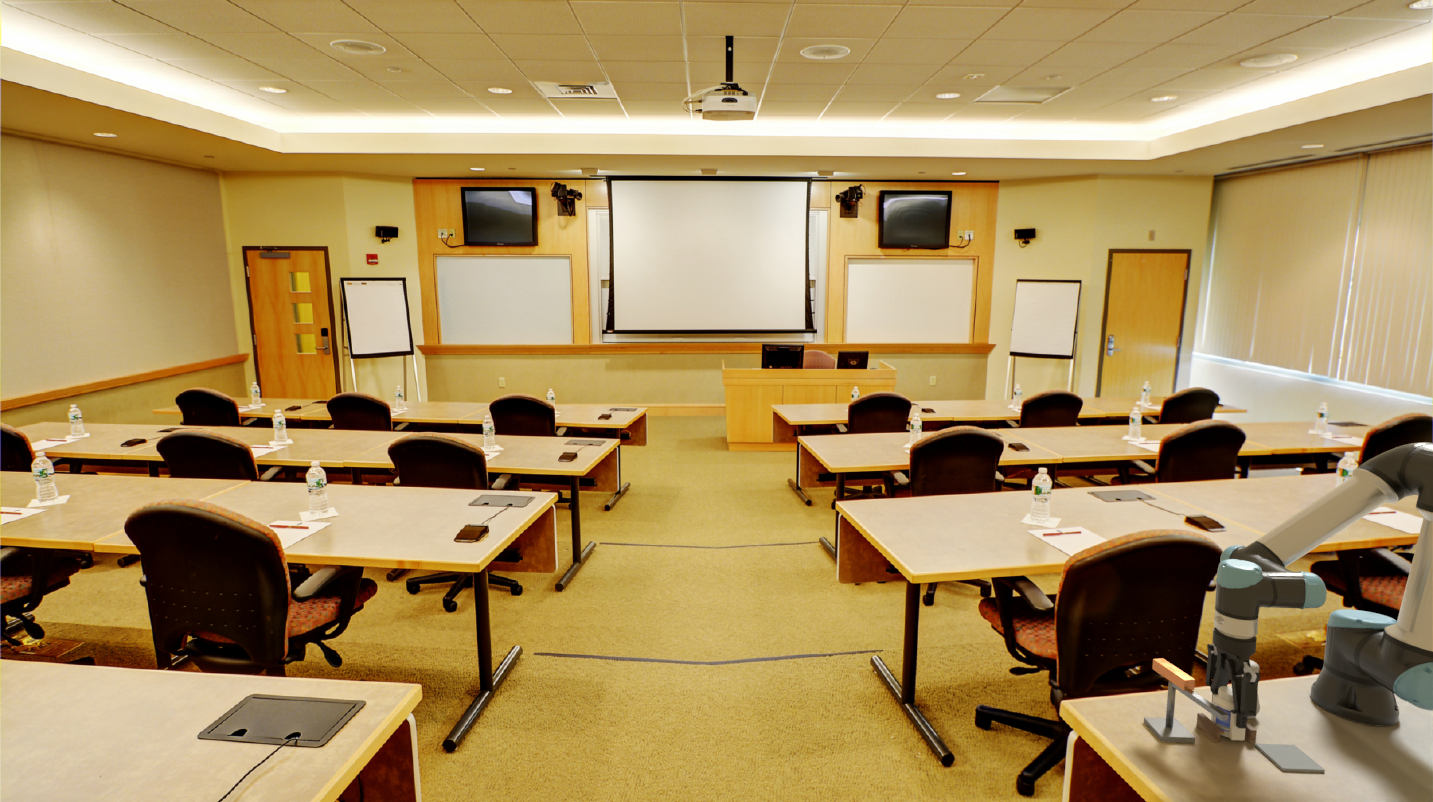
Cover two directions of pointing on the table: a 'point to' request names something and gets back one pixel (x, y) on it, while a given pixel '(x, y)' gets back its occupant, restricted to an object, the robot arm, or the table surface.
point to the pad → (1289, 758)
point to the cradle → (1214, 730)
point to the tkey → (1182, 690)
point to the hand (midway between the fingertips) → (1227, 730)
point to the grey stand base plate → (1169, 730)
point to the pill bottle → (1224, 708)
